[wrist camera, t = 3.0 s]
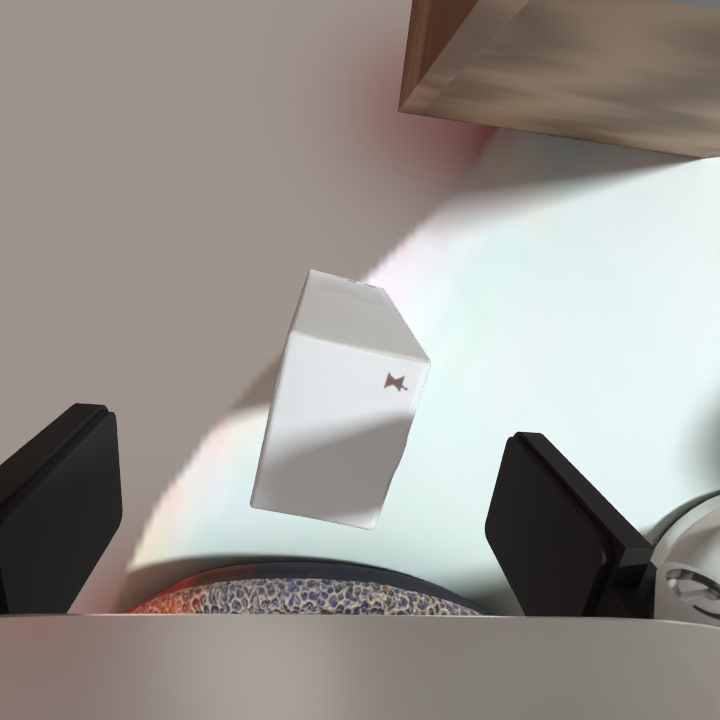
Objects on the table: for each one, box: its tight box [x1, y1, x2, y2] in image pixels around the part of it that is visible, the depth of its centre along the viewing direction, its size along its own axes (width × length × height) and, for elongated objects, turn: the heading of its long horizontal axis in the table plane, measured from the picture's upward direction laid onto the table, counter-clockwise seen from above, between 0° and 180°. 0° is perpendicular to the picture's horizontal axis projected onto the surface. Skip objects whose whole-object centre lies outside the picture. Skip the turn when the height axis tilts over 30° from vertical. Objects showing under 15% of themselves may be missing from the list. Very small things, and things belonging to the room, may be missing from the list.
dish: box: [123, 562, 493, 616], centre depth 29 cm, size 16×31×5 cm, turn 78°
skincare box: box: [250, 270, 431, 530], centre depth 18 cm, size 6×4×12 cm
